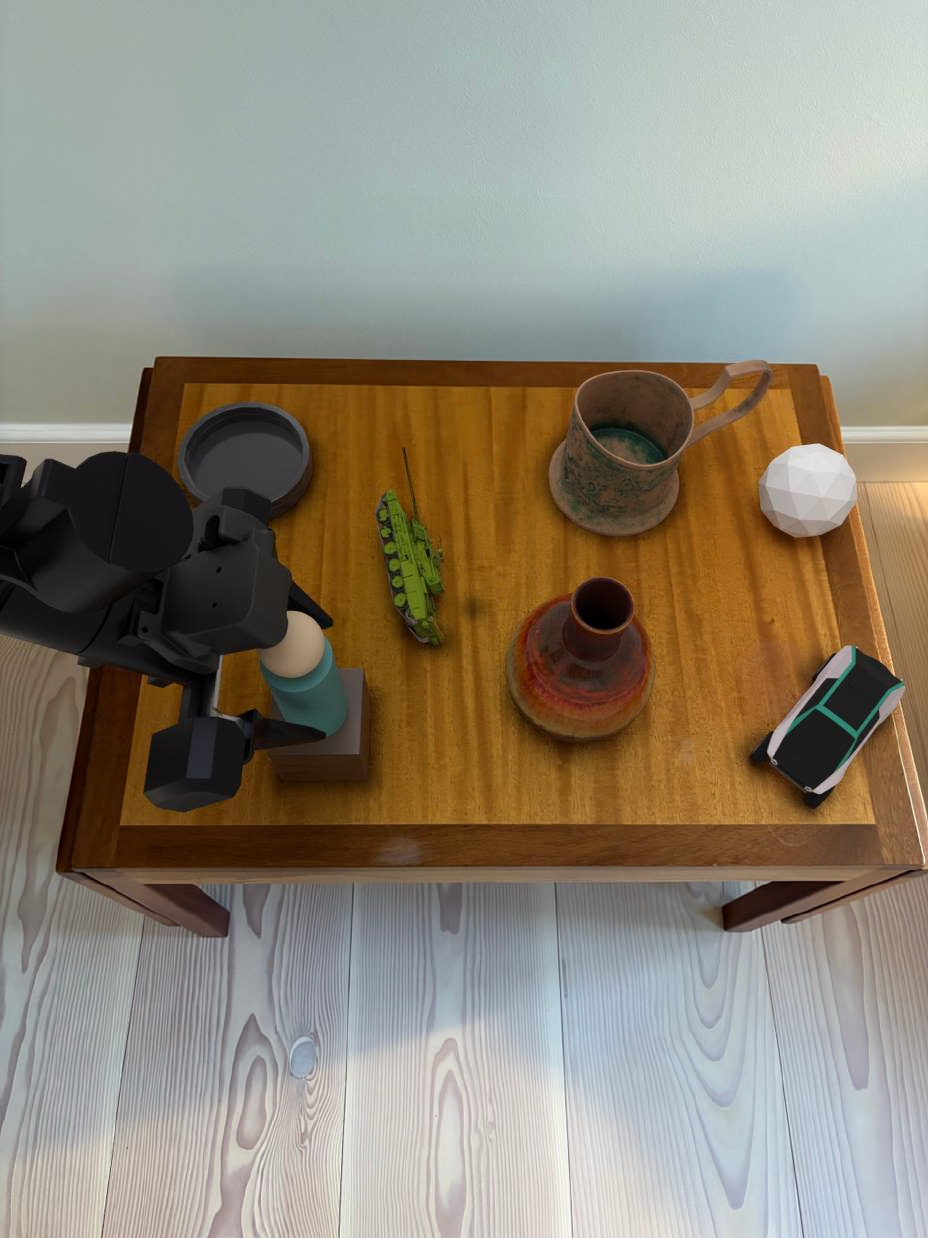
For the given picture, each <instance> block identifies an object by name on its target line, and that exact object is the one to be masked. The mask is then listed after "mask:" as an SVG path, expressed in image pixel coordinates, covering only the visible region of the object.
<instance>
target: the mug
mask: <svg viewBox="0 0 928 1238" xmlns="http://www.w3.org/2000/svg"><path fill="white" fill-rule="evenodd" d="M756 373H762V374H761V376H760V378H759V380H758V383H757V384H756V385H755V387H754V388H753V390H752V391H751V392H750V393H749V395H748V396H747V397H745V399H743V400H742V401H741V402H740V403H739V404H738V405H736V406H734V407H733V408H731V409H729V410H727V411H725V412H723V413H721V414H719V415H717V416H714V417H712V418H711V419H709V420H707V421H705V422H703V423H701V424H700V425H699V426H697V427H695V419H696V418H695V417H696V416H695V412H696V411H698V410H701V409H702V410H703V409H704V408H706V407H708V406H710V405H713V403H715V402H716V401H718V399H720V397H721V396H722V395H724V394H725V392H726V391H727V389H728V388H729V386H730V384H731V382H732V380H733V379H735V378H737V377H741V376H742V377H743V376H747V375H750V374H751V375H752V374H756ZM773 380H774V371H773V370H772V368H771V366H770V365H769V363H768V361H766V360H765V359H751V360H746V361H739V362H737V363H736V362H735V363H733V364H732V363H731V364H727V365H725V366H724V367H723V370H722V372H721V374H720V376H719V378H718V379H717V381H716V382H715V383H714V384H713V385H712V386H711V387H710V388H709V389H708V390H706V391H705V392H703V393H702V394H699V395H697V396H694V397H692V398H690V397H689V395H688V394H687V392H686V391H685V389H684V388H683V387H682V386H681V385H680V384H679V383H677V382H676V381H675V380H673V379H672V378H670V377H668V376H666V375H664V374H661V373H658V372H655V371H650V370H643V369H626V370H625V369H624V370H616V371H609V372H604V373H600V374H597V375H594V376H592V377H590V378H588V379H586V380H585V381H583V382H582V383H581V384H580V386H579V387H578V389H577V391H576V392H575V396H574V400H573V406H572V412H571V413H572V414H571V417H570V418H569V426H568V430H567V433H566V438H565V439H564V440H563V441H562V442H561V443H560V444H559V446H558V447H557V448H556V449H555V450H554V453H553V455H552V457H551V460H550V463H549V467H548V475H547V476H548V477H547V479H548V487H549V492H550V494H551V497H552V499H553V501H554V503H555V504H556V506H557V507H558V509H559V510H560V511H561V512H562V514H564V516H565V517H566V518H568V519H569V520H570V521H571V522H572V523H574V524H575V525H577V526H579V527H580V528H582V529H584V530H587V531H588V532H591V533H595V534H596V535H597V534H598V535H601V536H607V537H629V536H631V537H632V536H635V535H639V534H642V533H645V532H647V531H650V530H651V529H653V528H655V527H656V526H659V524H660V523H662V522H663V521H664V520H665V519H666V518H667V517H668V515H669V514H670V513H671V512H672V510H673V508H674V506H675V504H676V501H677V498H678V496H679V491H680V479H679V473H678V467H679V464H680V462H681V460H682V457H683V455H684V452H685V450H688V449H689V448H691V447H692V446H694V445H695V444H697V443H698V442H700V441H701V440H704V438H706V437H708V436H709V435H711V434H712V433H714V432H716V431H718V430H720V429H722V428H724V427H726V426H729V425H731V424H733V423H735V422H737V421H739V420H741V419H742V418H744V417H746V416H747V415H748V414H749V413H751V412H752V410H753V409H755V408H756V406H758V404H759V403H760V402H761V401H762V399H764V396H765V395H766V394H767V392H768V391H769V388H770V386H771V384H772V382H773Z"/></svg>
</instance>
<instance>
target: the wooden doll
mask: <svg viewBox="0 0 928 1238" xmlns="http://www.w3.org/2000/svg"><path fill="white" fill-rule="evenodd" d="M287 618H288V629H287V633H286V635H285V637H284V639H283V640H282V641H281V642H280V643H279V644H278V645H276V646H274V647H272V648H268V649H256V651H257V655H258V658H259V667H260V671H261V674H262V677H263V678H264V680H265V682H266V684H267V686H268V688H269V690H270V692H271V695H272V694H273V696H274V698H275V701H276V703H277V705H278V707H279V709H280V711H281V713H282V715H283V717H284V719H285V721H286V722H290V723H295V724H300V725H305V726H310V727H313V728H316V729H318V730H321V731H324V732H326V738H327V737H329V736H331V735H332V734H334V733H335V732H337V731H338V730H339V729H340V727H341V726H342V725H343V723H344V721H345V719H346V716H347V711H348V706H347V701H346V697H345V693H344V690H343V686H342V683H341V679H340V676H339V672H338V669H337V668H338V666H337V665H338V664H337V663H336V659H335V654H334V652H333V648H332V644H331V642H330V641H329V639H328V638H327V637H326V635H324V633H323V630H322V629H321V628H320V626H319V625H318V624H317V622H316V621H315V620H314V619H312V618H311V617H310V616H308V615H306V614H304V613H301V612H297V611H287Z"/></svg>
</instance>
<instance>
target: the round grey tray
mask: <svg viewBox="0 0 928 1238" xmlns="http://www.w3.org/2000/svg"><path fill="white" fill-rule="evenodd" d="M176 465H177V469H178V473H179V477H180V480H181V482H182V484H183V487H184V489H185V490H186V491H185V492H186V493H187V494H188V495H189V498H190V499H191V501H192V502H193V503H194V505H195V506H196V507H198V506H199V505H200V504H202V503H203V502H205V501H206V500H208V499H209V498H211V497H212V496H213V495H215V494H216V493H218V492H219V491H221V490H222V489H223V488H226V487H228V486H246V487H248V488H250V489H252V490H254V491H256V492H259V493H261V494H263V495H265V496H267V497H268V498H269V499H270V500H271V506H270V515H269V521H271V520H274V519H276V518H278V517H280V516H282V515H284V514H286V513H287V512H288V511H290V510H291V509H292V508H293V507H294V506H296V505H297V504H298V503H299V501H300V500H301V499H302V498H303V496H304V495H305V493H306V492H307V490H308V488H309V486H310V484H311V481H312V477H313V471H314V470H313V454H312V451H311V447H310V443H309V440H308V436H307V434H306V431H305V429H304V428H303V426H302V425H301V423H300V422H299V421H298V420H297V419H296V417H294V416H293V415H291V414H290V413H288V412H287V411H285V410H283V409H282V408H280V407H278V406H275V405H272V404H269V403H264V402H260V401H239V402H235V403H230V404H226V405H221V406H219V407H217V408H214V409H213V410H211V411H209V412H207V413H205V414H204V415H202V416H201V417H200V418H199V419H198V420H197V421H195V422H194V423H193V424H192V425H191V426H190V427H189V428H188V430H187V432H186V433H185V435H184V437H183V439H182V440H181V442H180V443H179V448H178V454H177V459H176Z"/></svg>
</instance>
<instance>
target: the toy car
mask: <svg viewBox="0 0 928 1238" xmlns="http://www.w3.org/2000/svg"><path fill="white" fill-rule="evenodd" d="M811 680H812V681H813V684H812V685H811V686H810V687H809V688H808V689H807V690H806V691H805V693H804V694H803V695H802V696H801V697H800V699H799V700H798V701H797V702H796V703H795V705H794V706H793V707H792V708H791V710H790V711H789V712H788V714H787V715H786V716H785V718H783V719H782V720H781V722H780V723H778V725H777V727H776V728H775V729H774V731H773V730H770V731H769V732H768V733H767V734H766V735H765V736H764V738H762V739H761V740H760V742H759V743H758V744H757V745H756V746H755V748H754V749H753V750H752V752H751V753H750V755H749V756H748V760H750V761H751V762H752V763H753V764H754V765H756V766H758V767H760V766H761V765H763V763H765V761H767V759H770V761H769V763H768V765H770V766H771V767H772V768H773V769H775V770H776V771H777V772H779V773H780V774H781V775H782V776H783V777H784V778H785V779H786V780H788V781H789V782H790V783H792V784H793V785H795V786H796V787H797V788H798V789H800V790H801V791H802V792H803V793H805V794H804V796H802V797H803V798H802V803H803V804H804V805H805V806H806V807H808V808H809V809H811V810H816V809H818V807H820V805H821V804H823V803H824V802H825V801H826V799H827V798H828V797H829V796H830V795H831V793H832V792H833V791H834V790H835V788H836V786H837V785H838V783H840V781H842V779H843V777H844V775H845V773H846V771H847V769H848V768H849V766H850V765H851V763H852V761H853V760H854V758H855V757H856V756H857V755H858V753H859V752H860V750H861V749H862V748H863V746H864V745H865V744H866V742H867V741H868V739H869V738H870V737H871V735H872V734H873V733H874V731H875V730H876V728H877V727H878V726H880V724H882V723H883V722H884V721H885V720H886V719H887V718H888V717H889V716H890V714H891V713H892V712H893V711H894V710H895V708H896V707H897V706H898V705H899V702H900V701H901V699H902V697H903V695H904V694H905V692H906V685H905V683H904V682H903V680H904V679H903V678H900V679H899V678H898V677H897V676H895V675H894V674H893V673H892V671H891V670H890V669H889V668H888V667H887V666H886V665H885V664H884V663H882V662H881V660H878V659H876V658H874V657H872V656H871V655H868V654H866V653H865V652H863V651H861V650H860V649H859V646H858V645H857V646H854V645H845V646H843V647H842V648H841V649H840V650H839V651H838V652H837V653H836V652H833V653H832V654H831V655H830V656H829V657H828V658H827V659H826V660H825V661H824V662H823V663H822V665H821V666H820V667H819V668H818V669H817V670H816V671H815V673H814V675H813V676H812V677H811Z"/></svg>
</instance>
